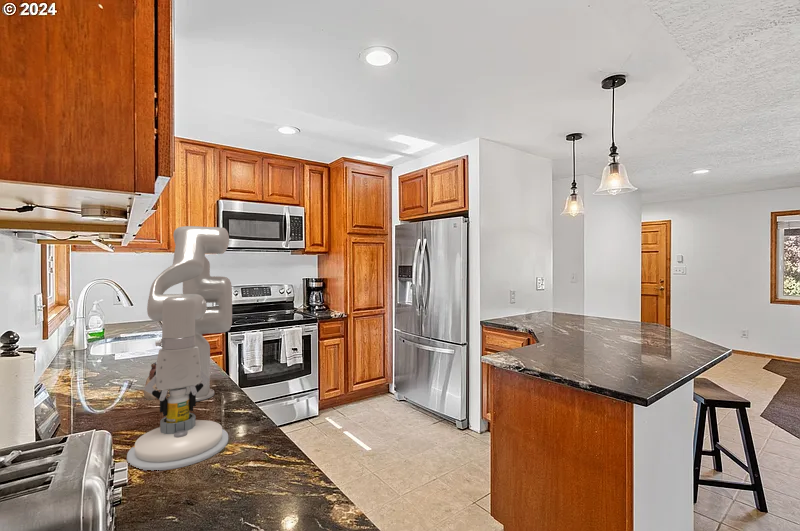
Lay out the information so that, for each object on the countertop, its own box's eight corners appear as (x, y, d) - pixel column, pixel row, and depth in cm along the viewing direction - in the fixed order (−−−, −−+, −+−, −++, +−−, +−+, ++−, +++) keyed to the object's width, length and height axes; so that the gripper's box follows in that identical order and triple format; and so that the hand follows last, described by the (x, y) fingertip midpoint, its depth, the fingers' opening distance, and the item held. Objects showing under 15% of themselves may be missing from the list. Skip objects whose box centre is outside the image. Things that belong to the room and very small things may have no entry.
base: (105, 458, 90) (105, 453, 90) (189, 424, 111) (189, 420, 111) (167, 479, 82) (167, 473, 82) (246, 438, 102) (246, 433, 102)
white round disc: (229, 446, 94) (229, 428, 94) (136, 470, 83) (136, 449, 83) (214, 421, 109) (214, 406, 109) (133, 439, 98) (133, 421, 98)
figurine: (172, 393, 138) (172, 360, 138) (158, 400, 131) (158, 365, 131) (154, 392, 139) (154, 359, 139) (139, 399, 132) (139, 364, 132)
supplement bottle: (178, 419, 104) (178, 384, 104) (194, 421, 102) (194, 385, 103) (160, 427, 99) (161, 390, 99) (177, 429, 97) (178, 392, 97)
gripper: (140, 349, 93) (139, 424, 93) (216, 341, 103) (216, 409, 103) (139, 344, 99) (138, 414, 99) (211, 337, 109) (210, 401, 109)
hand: (178, 411), depth 101 cm, fingers closed on supplement bottle, 5 cm apart
